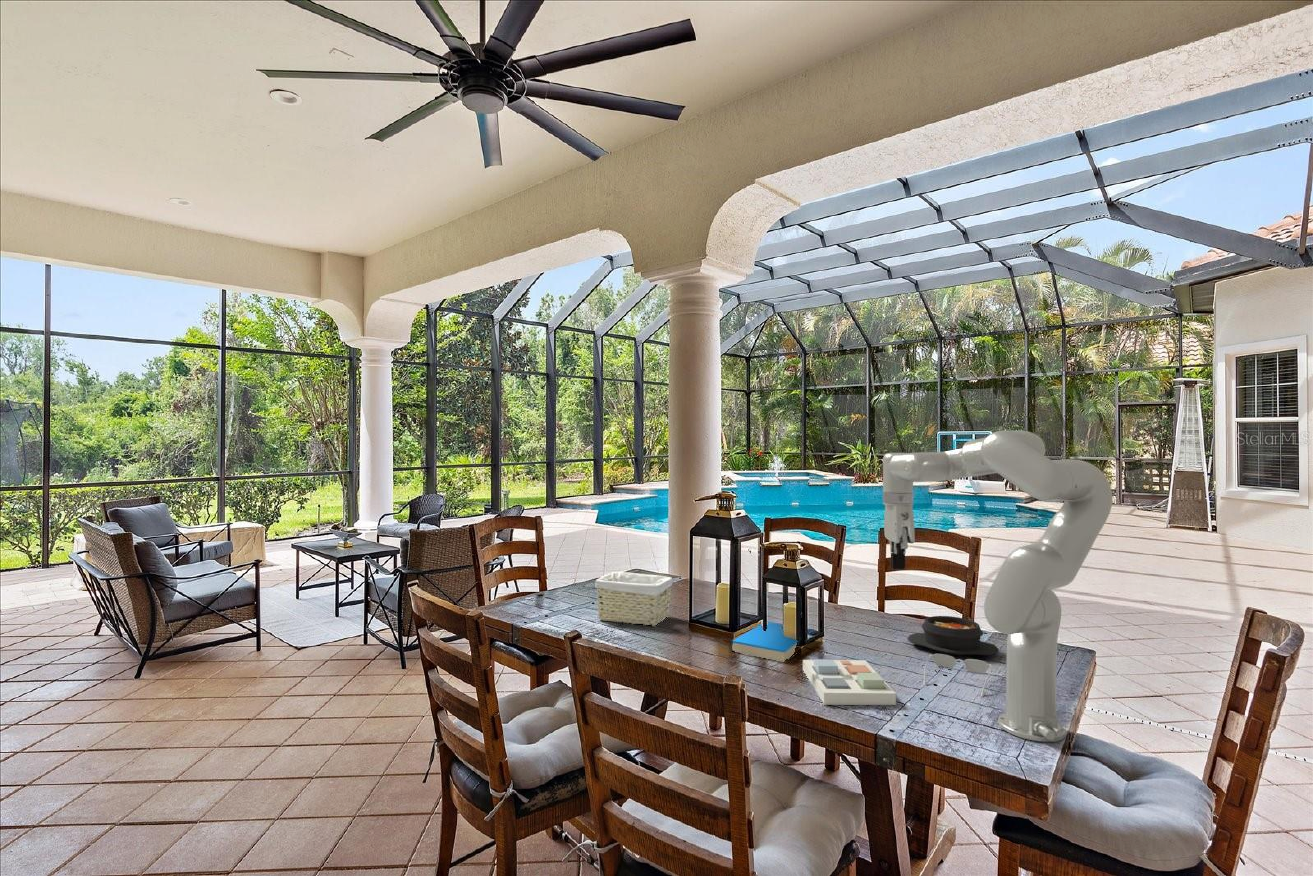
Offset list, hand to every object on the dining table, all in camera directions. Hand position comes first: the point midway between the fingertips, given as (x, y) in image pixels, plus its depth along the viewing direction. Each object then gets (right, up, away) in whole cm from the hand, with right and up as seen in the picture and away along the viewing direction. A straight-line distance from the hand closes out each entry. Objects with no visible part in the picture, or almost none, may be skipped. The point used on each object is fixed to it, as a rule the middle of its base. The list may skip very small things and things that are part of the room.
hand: (897, 568), depth 170 cm
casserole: (+25, -30, +24) cm, 45 cm away
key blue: (-20, -26, -3) cm, 33 cm away
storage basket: (-72, -30, +56) cm, 96 cm away
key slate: (-20, -28, -12) cm, 36 cm away
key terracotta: (-11, -28, -3) cm, 30 cm away
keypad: (-16, -29, -6) cm, 34 cm away
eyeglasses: (+15, -30, -1) cm, 33 cm away
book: (-28, -30, +26) cm, 49 cm away
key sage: (-11, -27, -13) cm, 31 cm away
